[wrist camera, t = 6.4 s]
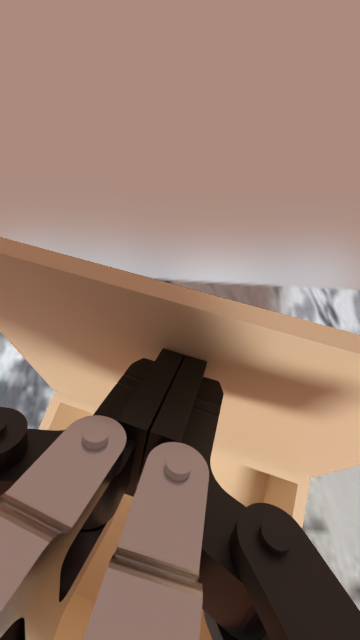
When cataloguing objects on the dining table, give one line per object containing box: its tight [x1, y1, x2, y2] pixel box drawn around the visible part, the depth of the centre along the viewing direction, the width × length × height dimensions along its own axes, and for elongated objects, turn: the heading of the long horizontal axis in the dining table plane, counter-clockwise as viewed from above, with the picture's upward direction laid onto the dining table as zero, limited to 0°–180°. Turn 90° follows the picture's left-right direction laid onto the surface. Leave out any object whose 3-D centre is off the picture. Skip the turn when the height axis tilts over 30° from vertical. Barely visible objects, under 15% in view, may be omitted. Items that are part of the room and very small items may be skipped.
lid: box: [0, 237, 360, 477], centre depth 13 cm, size 16×13×1 cm
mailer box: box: [39, 390, 311, 640], centre depth 20 cm, size 16×13×8 cm
